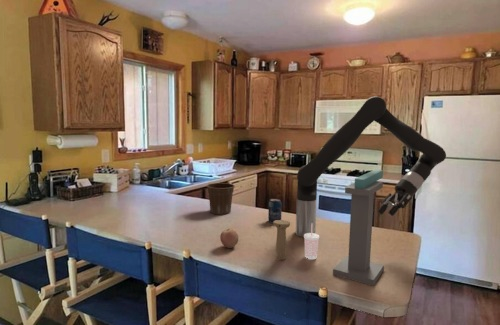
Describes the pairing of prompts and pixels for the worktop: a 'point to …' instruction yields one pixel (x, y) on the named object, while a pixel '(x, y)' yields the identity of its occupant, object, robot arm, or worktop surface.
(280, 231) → the handle
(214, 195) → the plant pot
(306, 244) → the beverage cup
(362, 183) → the teal bar
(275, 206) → the soda can
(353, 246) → the gray stand
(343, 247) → the worktop surface
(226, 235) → the apple
